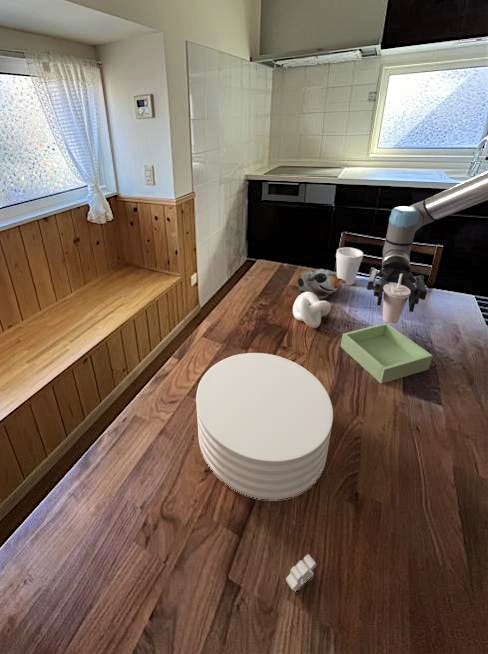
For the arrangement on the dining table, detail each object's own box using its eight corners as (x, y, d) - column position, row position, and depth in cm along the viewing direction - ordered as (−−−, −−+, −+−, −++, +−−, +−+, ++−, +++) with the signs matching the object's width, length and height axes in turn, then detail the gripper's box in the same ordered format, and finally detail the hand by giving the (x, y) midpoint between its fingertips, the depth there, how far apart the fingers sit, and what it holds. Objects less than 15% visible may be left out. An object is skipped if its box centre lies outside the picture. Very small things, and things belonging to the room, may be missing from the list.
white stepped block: (307, 566, 54) (309, 551, 52) (314, 576, 53) (317, 561, 51) (284, 587, 52) (286, 572, 50) (291, 598, 51) (293, 583, 49)
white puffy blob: (322, 310, 118) (325, 288, 115) (335, 331, 108) (338, 307, 104) (290, 311, 119) (291, 289, 115) (299, 332, 108) (301, 308, 104)
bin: (428, 369, 91) (433, 355, 89) (381, 383, 87) (384, 369, 85) (383, 335, 104) (386, 322, 102) (340, 346, 101) (342, 333, 99)
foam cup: (334, 286, 133) (338, 256, 127) (331, 275, 141) (334, 247, 135) (360, 288, 130) (365, 257, 125) (355, 276, 138) (360, 248, 133)
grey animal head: (332, 284, 134) (349, 263, 123) (332, 309, 126) (351, 289, 116) (295, 273, 135) (309, 251, 124) (294, 297, 127) (309, 277, 116)
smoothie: (408, 320, 91) (420, 275, 86) (395, 329, 88) (406, 283, 83) (385, 310, 96) (394, 266, 91) (372, 318, 93) (380, 273, 88)
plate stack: (191, 492, 65) (187, 453, 61) (204, 383, 91) (202, 350, 86) (342, 509, 61) (351, 469, 57) (312, 390, 86) (316, 355, 82)
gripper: (430, 283, 100) (438, 325, 82) (359, 271, 109) (351, 307, 91) (437, 260, 97) (446, 299, 79) (362, 250, 106) (355, 283, 88)
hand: (395, 304), depth 85 cm, fingers closed on smoothie, 6 cm apart
